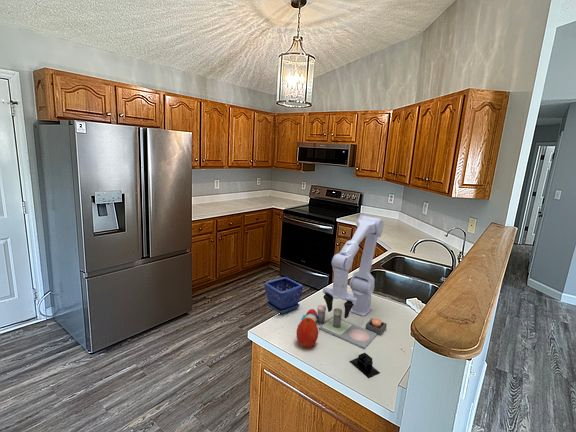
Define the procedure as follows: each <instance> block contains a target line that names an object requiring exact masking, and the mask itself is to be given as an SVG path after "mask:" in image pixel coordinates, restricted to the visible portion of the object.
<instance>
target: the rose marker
mask: <svg viewBox="0 0 576 432" xmlns="http://www.w3.org/2000/svg"><path fill="white" fill-rule="evenodd" d="M316 310H317V320H316V324H319V325H323V324H324V323H325V322H326V321H325V319H326V311H327V306H326V305H323V304H319V305H318V306H317V309H316Z"/></svg>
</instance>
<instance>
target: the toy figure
mask: <svg viewBox="0 0 576 432" xmlns="http://www.w3.org/2000/svg"><path fill="white" fill-rule="evenodd" d="M317 314H318V311H316V310H315V309H314V308H310V309H308V311H307V312H306V314H302V317H301V321H302V320H303V319H304V318H311V319H313V320H314V322H315V323H316V324H317Z"/></svg>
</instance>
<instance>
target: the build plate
mask: <svg viewBox="0 0 576 432" xmlns="http://www.w3.org/2000/svg"><path fill="white" fill-rule="evenodd" d="M373 362H374V361H373V357H371V356H370V355H369V354H368V353H366V352H363V353H360V354H358V356H357V357H355V358H354V359H352V360H349V362H348V363H350V364H351V365H352V366H353V367H354V368H356V369H357V370H358V371H359V372H361V374H363V375H364V376H365V377H366V378H368V379H370V378H373V377H375V376H377V375H379V374H381V372H380V371H379V370H377V369H376V368H375V367H374V366H373Z"/></svg>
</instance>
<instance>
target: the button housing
mask: <svg viewBox="0 0 576 432" xmlns="http://www.w3.org/2000/svg"><path fill="white" fill-rule="evenodd" d="M372 319H373V317H372V318H370V320H369V321H367V322H366V323H365V328H364V329H367V330H369V331H372V332H374V333H377V336H379V337H381V336H382V335H383V333H384V332H385V331H386V330H387V326H388V323H386V322H383V321H382V322H381V327H379V328H377V327H374V326H372Z"/></svg>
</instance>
